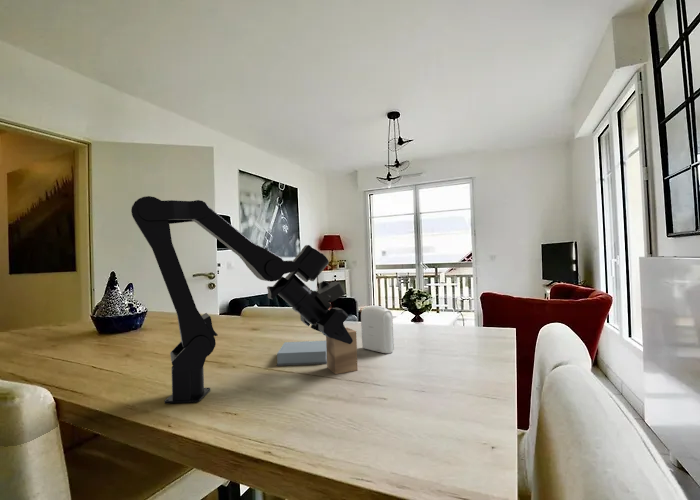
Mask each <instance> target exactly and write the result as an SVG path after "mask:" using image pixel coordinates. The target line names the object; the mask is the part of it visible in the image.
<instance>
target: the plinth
mask: <svg viewBox="0 0 700 500" xmlns="http://www.w3.org/2000/svg"><path fill="white" fill-rule="evenodd" d="M276 356H277V359H276V360H277V363H276V366H277V367H278V366H280V367H281V366H283V367H284V366H305V365H307V366H308V365H327V348H326V340H311V341H309V340H308V341H307V340H306V341H305V340H304V341H284V342H283V344H282V346H281V347H280V349H279V350H278V351H277V353H276Z"/></svg>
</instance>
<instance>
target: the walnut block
mask: <svg viewBox="0 0 700 500" xmlns="http://www.w3.org/2000/svg"><path fill="white" fill-rule="evenodd" d="M345 328H346V330H347V331H348V333H349V335H350V336H351V338H352V340H353V342H352V343H351V344H348V343H345V342H342V341H339V340H336V339H333V338H329V337H327V336H325V341H326V348H327V364H326V368H327V369H328V370H330V372H332V373H333V374H335V375H337V374H345V373H350V372H356V371H358V370H359V369H358V342H357V331H356V330H354V329H351V328H349V327H345Z"/></svg>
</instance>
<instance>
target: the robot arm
mask: <svg viewBox="0 0 700 500" xmlns="http://www.w3.org/2000/svg"><path fill="white" fill-rule="evenodd" d="M131 216H132V218H133V220H134V222H135V224H136V226H137V227H138V228H139V230H140V232H141V234H142V235H143V237H144V238H145V240H146V241H147V243H148V245H149V247H150V248H151V249H152V252H153V254H154V258H155V259H156V260H155V261H156V263H157V265H158V268H159V270H160V272H161V275H162V278H163V281H164V283H165V286H166V289H167V291H168V294H169V297H170V299H171V302H172V305H173V307H174V310H175V312H176V316H177V323H178V331H179V335H180V336H179V337H180V341H179V343H178V344H177V345H176V346H175V347H174V348H173V349H172V350H171V351H170V352H169V354H170V361H171V365H172V366H171V395H169V396H168V397H167V398H166V399H164V404H182V403H185V404H187V403H198V402H201V400H202V399H204V397H205V396H206V395H208V393H210V392H211V387H205V377H204V374H205V373H204V371H205V369H204V365H205V362H206V359H207V357H208V356H210V355H211V354H212V353H213V351H214V350H215V348H216V337H218V333H217V332H216V330H215V329H214V326H213V322H212V317H211V315H209V313H208V312H205V313H203V314H202V315H201V312H199V310H198V309H197V306H196V303H195V301H194V298H193V295H192V293H191V289H190V286H189V285H188V281H187V278H186V277H185V273H184V271H183V268H182V265H181V264H180V260H179V258H178V255H177V252H176V250H175V247H174V244H173V241H172V239H173V238H172V234H171V227H170V226H171V225H173V224H182V223H183V224H184V223H190V222H191V223H196V224H197V225H198V226H199V227H201V228H202V229H203V230H205V231H206V232H207V233H209V234H210V235H211V236H212V237H214V238H215V239H217V240H218V241H219V242H220V243H222V244H223V245H224V246H225V247H226V248H228V249H229V250H230V251H232V252H233V253H234V254H235V255H237V257H239V259H241V261H242V262H243V263H244V264H245V265H246V267H247V269H249V270H250V272H251V273H252V274H253V275H254V276H255V277H256V278H257V279H259V280H261V281H266V282H275V284H273V285H272V286H269V285H267V287H266V289H267V298H268V299H271V300H273V299H275V298H276V297H277V296H279V297H280V298H282V299H283V301H285V303H287V304H288V305H289V306H290V307H292V310H293V311H294V312H296V313H298V314H299V315H300V321H301V322H302V323H303V324H304V325H306V326H307V327H309V326H310V328H311V329H312V330H313V331H318V332H319V333H321V334H322V335H323V336H325V337H326V336H327V337H329V338H333V339H336V340H339V341H342V342H345V343H348V344H351V343H352V342H353V340H352V338H351V336H350V335H349V333H348V331H347V330H346V328H347V327H345V324H344V323H345V321H346V320H347V319H348V318H349V314H348V313H347V312H346V311H345V310H344V309H343V308H339V307H332V306H333V305H332V304H331V303H332V302H334V301H336V300H337V299H339V298H341V297H344V296H345V295H346V292H345V290H344V287H343V286H342V284H341V282H340V281H331V282H328V281H326V280H322V281H321V282H319V283H318V289H317V290H312V289H311V288H310V287H309V286H308V285H307V284H305V282H306V283H307V282H309V281H311V282H314V281H315V280H316V279H317V278H318V277H319V276H320V275H321V273H322V272H323V271H324V270H325V268H326V267H327V266H328V265H329V263H330V261H329V260H328V258H327V256H326V255H325V254H324V253H322V252H320V251H319V250H317V249H315V248H313V247H312V246H311V245H310V244H306V245H304V246H303V247H302V249H301V251H299V253H298V254H297V255H296V257H295V258H294V259H293V260H284V259H283V258H282V257H281V256H280V255H277V254H276V253H275V252H273V251H272V250H271V251H270V250H269V249H267V248H264V247H263V246H260V245H258V244H257V243H255V242H253V241H252V240H250V239H249V238H248V237H247V236H246V235H244V234H243V233H242V232H240V231H239V230H238V229H237V228H236V227H234V226H233V225H232V224H230V222H228V221H227V220H225V218H223V217H222V216H221V215H219V214H218V213H217V212H216V211H215V210H213V208H211V207H210V206H209V205H208V204H207V203H206V202H205V201H203V200H200V199H196V200H172V199H171V200H161V199H159V198H157V197H155V196H149V195H147V196H141V197H140V198H138V199H136V200H135V201H134V203H133V204H132V206H131ZM286 274H287V275H286ZM284 275H286V276H285V277H284ZM303 281H304V282H303Z"/></svg>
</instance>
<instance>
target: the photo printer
mask: <svg viewBox="0 0 700 500" xmlns="http://www.w3.org/2000/svg"><path fill="white" fill-rule="evenodd" d="M393 319H394V318H393V313H392V311H391V310H390V309H388V308H387V307H384V306H380V305H369V306H366V307H364V308H362V310H361V313H360V324H361V325H360V327H361V328H360V329H361V346H362V348H363V349H365V350H368V351H372V352H379V353H383V354H391V353H393V352H394V350H395V343H394V339H395V338H394V322H393Z"/></svg>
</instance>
